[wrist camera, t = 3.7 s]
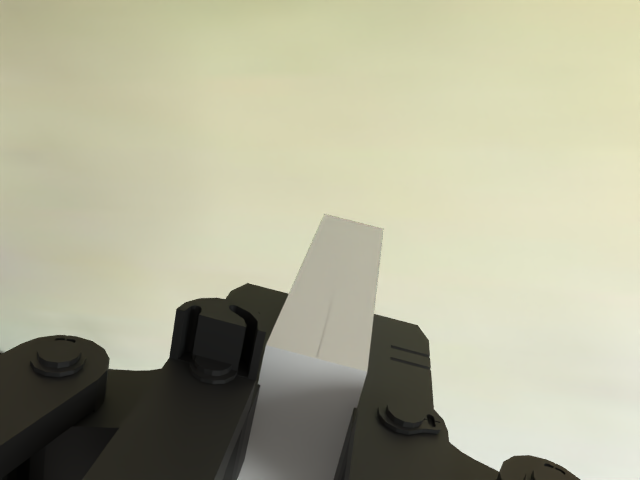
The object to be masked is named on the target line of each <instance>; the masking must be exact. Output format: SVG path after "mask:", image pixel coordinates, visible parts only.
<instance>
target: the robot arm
mask: <svg viewBox="0 0 640 480" xmlns="http://www.w3.org/2000/svg"><path fill="white" fill-rule="evenodd" d="M382 238H383V228H379V227H375V226H371V225H367V224H363V223H359V222H355V221H351V220H347V219H343V218H339V217H335V216H331V215H327V214H324V216H323V218H322V220H321V222H320V225H319V227H318V229H317V231H316V234H315V236H314V238H313V240H312V243H311V245H310V247H309V249H308V252H307V254H306V256H305V258H304V261H303V263H302V265H301V267H300V270H299V272H298V274H297V276H296V279H295V281H294V283H293V285H292V288H291V290H290V292H289V294H287V293H283V292H280V291H276V290H272V289H268V288H264V287H260V286H256V285H252V284H249V283H247V284H245V285H243V286H241V287H239V288H236V289H234V290H232V291H231V292H230V293H229V295H228V296H227V298H226V299H220V298H200V299H196V300H192V301H189V302H186V303H184V304H183V305H181V306H180V307H178V308H177V310H176V316H175V323H174V330H173V337H172V344H171V351H170V357H169V359H168V361H167V362H166V363H165V365H164V366H163V367H162V369H156V370H150V371H131V370H113V369H108V368H109V357H108V355H107V353H106V351H105V350H104V349H103V348H102V347H100V346H99V345H97V344H96V343H94V342H93V341H90V340H87V339H83V338H80V337H76V336H66V335H55V336H47V337H39V338H36V339H33V340H30V341H28V342H25V343H22V344H20V345H18V346H16V347H14V348H12V349H10V350H8V351H6V352H5V353H3V354H0V480H237V479H238V480H580V479H579V478H577V477H576V476H575V475H573V474H572V473H571V472H569V471H568V470H567V469H565V468H563V467H562V466H560V465H558V464H555V463H554V462H551V461H548V460H546V459H542V458H538V457H534V456H530V455H525V456H513V457H511V458H509V459H508V460H506V461H504V462H503V464H502V467H501V469H500V472H498V471H496V470H494V469H492V468H490V467H488V466H486V465H484V464H482V463H480V462H478V461H476V460H474V459H473V458H471V457H469V456H467V455H466V454H464V453H462V452H461V451H460V450H458V449H457V448H456V447H455V446H453V445H452V444H451V443H450V442H449V437H448V430H447V428H446V425H445V423H444V420H443V419H442V418H441V417H440V416H439V414H438V413H437V412H436V411H435V410H434V406H433V393H432V379H431V370H430V368H431V365H430V358H429V356H430V352H429V340H428V339H427V337H426V336H425V335H424V333H423V332H422V331H421V329H420V328H419V326H418V325H415V324H411V323H407V322H403V321H399V320H395V319H391V318H388V317H384V316H380V315H376V314H374V308H375V299H376V291H377V282H378V273H379V264H380V255H381V246H382Z"/></svg>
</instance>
